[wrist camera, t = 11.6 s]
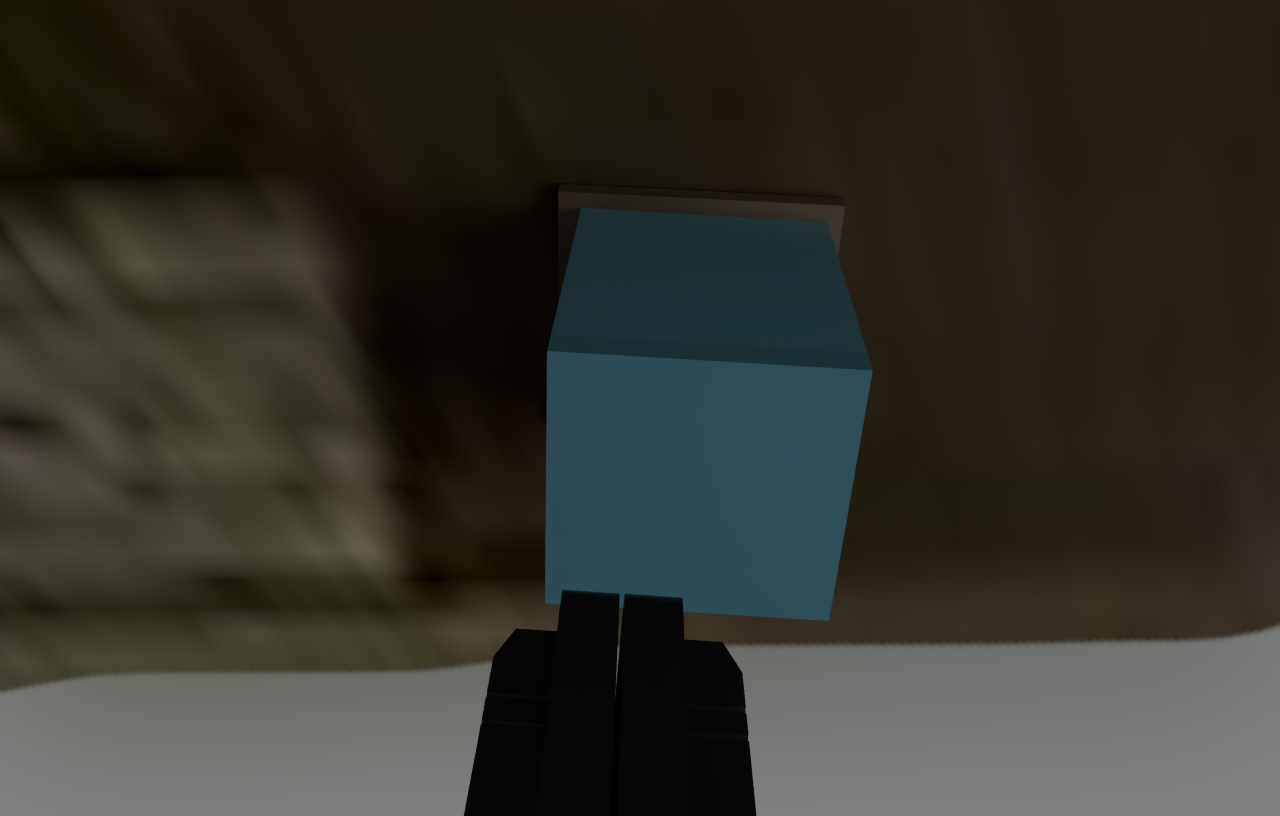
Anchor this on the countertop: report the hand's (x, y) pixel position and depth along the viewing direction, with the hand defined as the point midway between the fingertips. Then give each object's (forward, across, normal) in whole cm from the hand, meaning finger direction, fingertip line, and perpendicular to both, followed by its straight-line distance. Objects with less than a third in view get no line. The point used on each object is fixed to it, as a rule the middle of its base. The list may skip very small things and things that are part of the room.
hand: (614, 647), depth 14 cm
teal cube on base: (+12, -2, +1) cm, 12 cm away
